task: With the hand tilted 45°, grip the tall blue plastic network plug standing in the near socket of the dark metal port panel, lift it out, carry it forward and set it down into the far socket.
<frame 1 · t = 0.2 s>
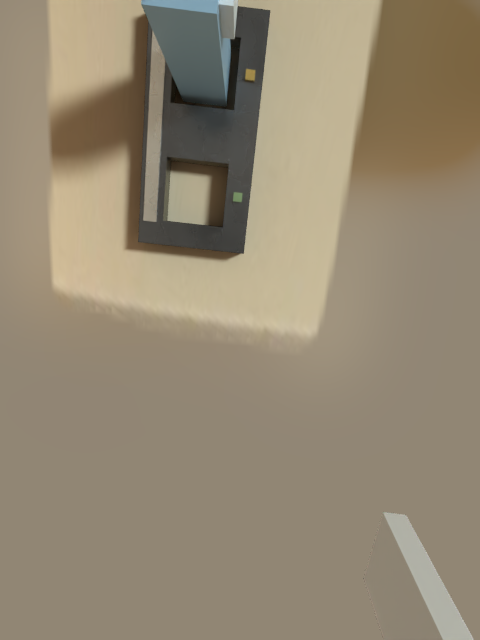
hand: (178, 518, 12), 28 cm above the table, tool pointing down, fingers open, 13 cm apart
port panel: (202, 139, 35), on the table
plug: (207, 79, 34), resting in port panel
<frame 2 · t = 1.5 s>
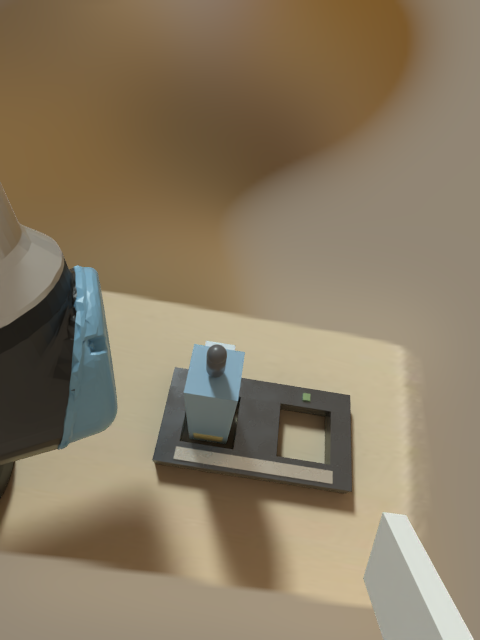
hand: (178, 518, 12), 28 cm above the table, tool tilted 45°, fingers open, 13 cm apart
port panel: (255, 430, 41), on the table
plug: (210, 423, 41), resting in port panel
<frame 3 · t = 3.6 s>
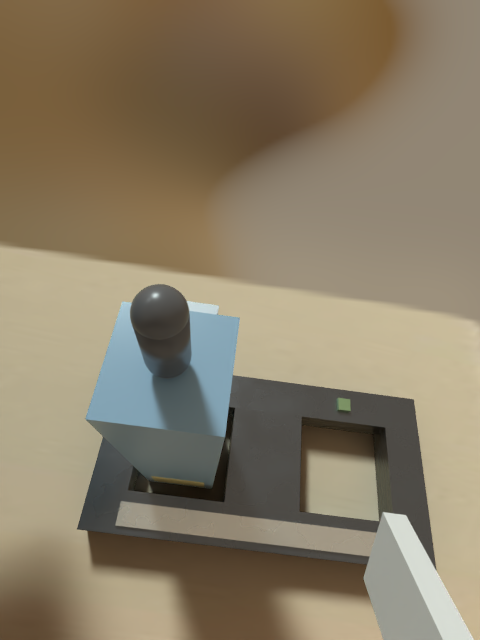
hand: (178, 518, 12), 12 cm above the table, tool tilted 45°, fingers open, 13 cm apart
port panel: (260, 461, 25), on the table
plug: (186, 452, 25), resting in port panel
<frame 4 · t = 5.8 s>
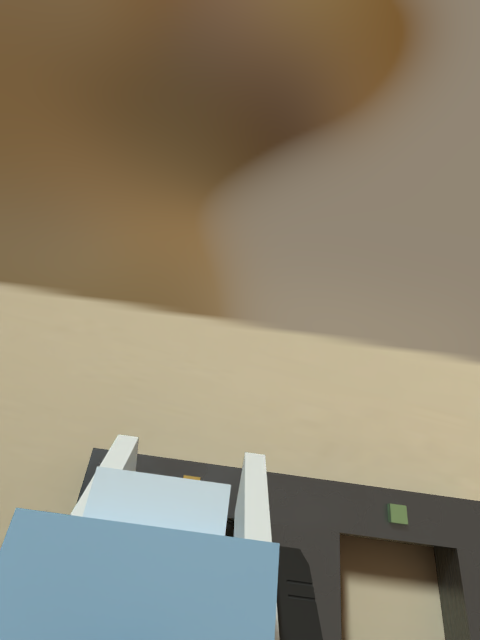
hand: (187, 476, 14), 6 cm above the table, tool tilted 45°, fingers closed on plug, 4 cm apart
port panel: (281, 594, 18), on the table
plug: (176, 580, 18), resting in port panel, touching gripper
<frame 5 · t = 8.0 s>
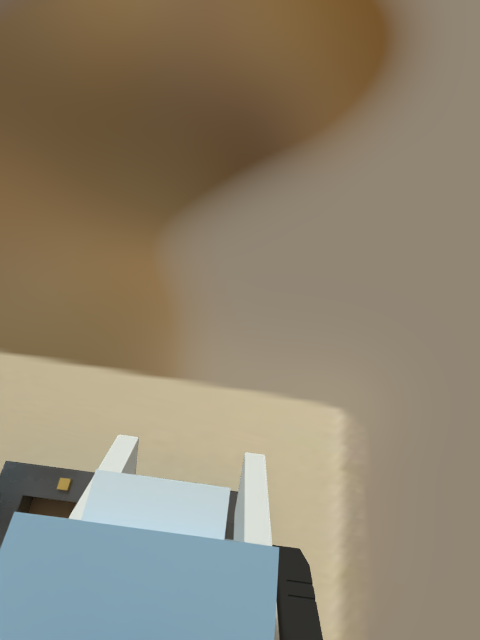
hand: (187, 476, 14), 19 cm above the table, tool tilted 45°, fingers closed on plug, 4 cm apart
port panel: (120, 550, 29), on the table
plug: (176, 581, 18), point 13 cm above the table, touching gripper
when the fingers open (8 cm above the table, at t = 10.3 s): plug drops 1 cm, resting in port panel.
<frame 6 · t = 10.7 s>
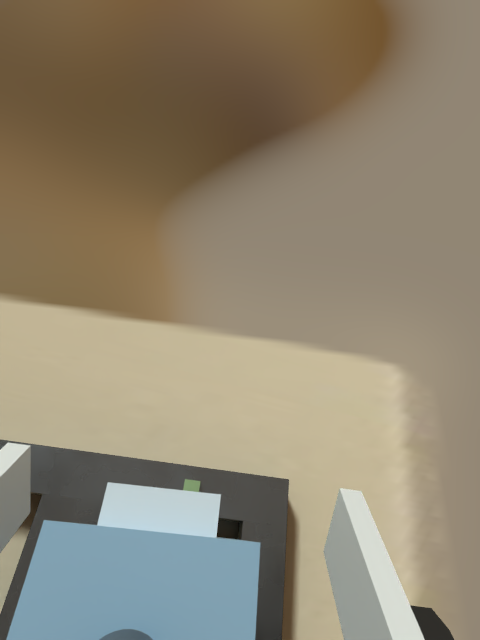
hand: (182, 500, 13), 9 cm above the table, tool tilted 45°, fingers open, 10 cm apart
port panel: (79, 564, 19), on the table
plug: (177, 579, 19), resting in port panel
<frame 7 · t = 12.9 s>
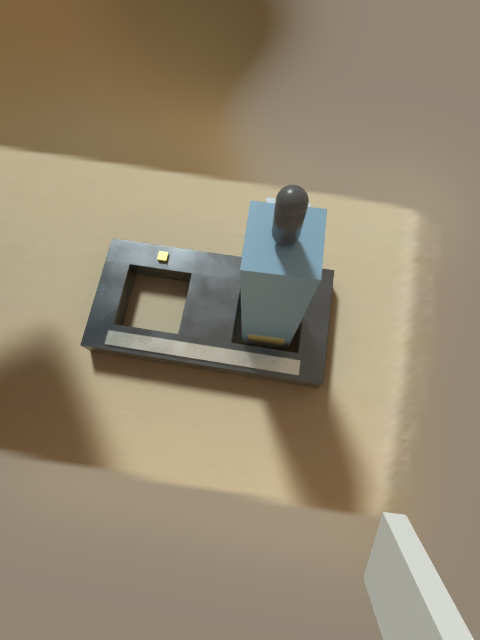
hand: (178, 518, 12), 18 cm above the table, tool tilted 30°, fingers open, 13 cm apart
port panel: (212, 314, 33), on the table
plug: (267, 323, 33), resting in port panel
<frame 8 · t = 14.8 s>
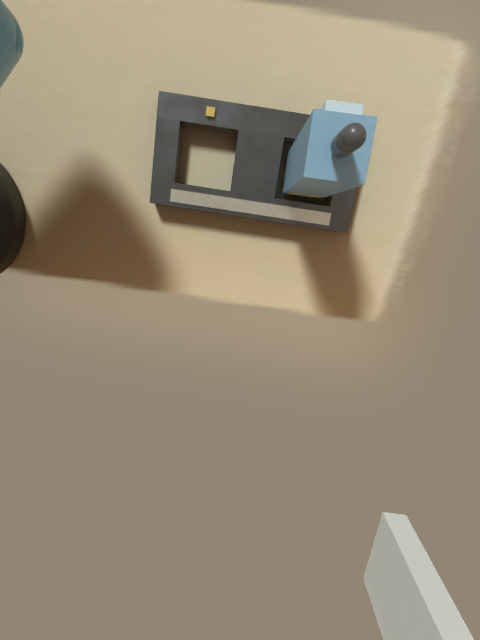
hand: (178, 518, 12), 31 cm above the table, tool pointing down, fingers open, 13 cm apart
port panel: (256, 167, 38), on the table
plug: (304, 176, 38), resting in port panel
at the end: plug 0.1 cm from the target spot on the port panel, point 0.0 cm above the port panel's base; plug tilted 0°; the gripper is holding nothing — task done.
